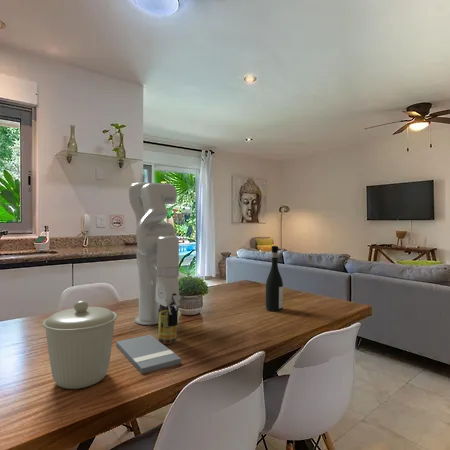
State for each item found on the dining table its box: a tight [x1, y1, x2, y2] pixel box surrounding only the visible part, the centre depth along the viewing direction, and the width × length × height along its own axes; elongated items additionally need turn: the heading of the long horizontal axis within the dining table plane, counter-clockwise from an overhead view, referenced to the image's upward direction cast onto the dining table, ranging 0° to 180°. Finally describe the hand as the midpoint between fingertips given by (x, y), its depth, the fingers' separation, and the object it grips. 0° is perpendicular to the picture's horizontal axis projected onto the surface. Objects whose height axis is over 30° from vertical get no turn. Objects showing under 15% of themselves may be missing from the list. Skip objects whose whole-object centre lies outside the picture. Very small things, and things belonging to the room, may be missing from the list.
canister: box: [41, 300, 118, 390], centre depth 89 cm, size 18×18×21 cm
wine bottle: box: [265, 245, 284, 312], centre depth 157 cm, size 8×8×30 cm
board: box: [115, 334, 182, 375], centre depth 106 cm, size 24×12×2 cm, turn 34°
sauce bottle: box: [157, 303, 178, 345], centre depth 116 cm, size 7×6×20 cm
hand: (167, 322), depth 116 cm, fingers open, 7 cm apart
